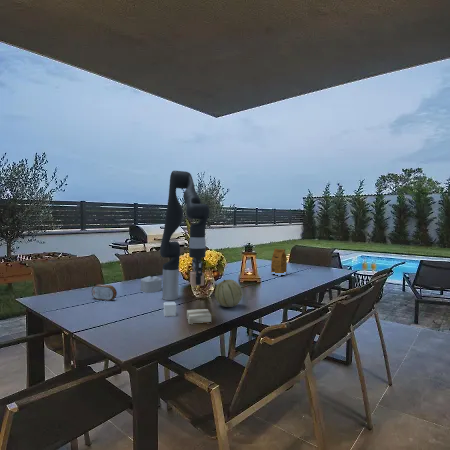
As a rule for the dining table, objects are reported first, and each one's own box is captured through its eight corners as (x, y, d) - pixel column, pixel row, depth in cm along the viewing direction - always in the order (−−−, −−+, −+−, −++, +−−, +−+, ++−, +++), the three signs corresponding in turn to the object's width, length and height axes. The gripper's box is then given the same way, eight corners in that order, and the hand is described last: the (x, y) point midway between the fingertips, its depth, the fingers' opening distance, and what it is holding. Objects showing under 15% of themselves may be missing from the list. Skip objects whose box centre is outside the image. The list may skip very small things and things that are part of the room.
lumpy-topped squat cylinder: (139, 290, 208) (139, 276, 208) (156, 287, 217) (157, 274, 216) (146, 293, 200) (146, 279, 200) (165, 290, 209) (165, 277, 209)
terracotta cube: (190, 283, 152) (190, 271, 152) (201, 282, 154) (201, 271, 153) (192, 285, 147) (192, 273, 147) (203, 285, 148) (204, 273, 148)
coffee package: (277, 273, 276) (277, 247, 275) (288, 275, 266) (288, 249, 265) (268, 274, 270) (269, 248, 269) (279, 277, 260) (280, 249, 259)
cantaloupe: (247, 306, 175) (248, 279, 174) (229, 312, 164) (230, 283, 163) (227, 301, 184) (227, 275, 184) (208, 306, 173) (209, 278, 173)
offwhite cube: (163, 313, 161) (163, 302, 161) (174, 312, 163) (174, 301, 162) (164, 316, 156) (164, 305, 156) (176, 315, 157) (176, 304, 157)
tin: (116, 300, 184) (117, 285, 184) (113, 301, 181) (113, 286, 181) (94, 297, 188) (94, 283, 188) (90, 299, 185) (90, 284, 185)
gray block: (186, 318, 155) (186, 310, 155) (207, 317, 157) (207, 308, 157) (189, 325, 145) (189, 316, 145) (211, 323, 147) (211, 315, 147)
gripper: (208, 248, 144) (208, 286, 144) (202, 245, 158) (201, 279, 158) (192, 248, 142) (191, 287, 142) (186, 245, 155) (186, 280, 156)
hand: (196, 283), depth 150 cm, fingers closed on terracotta cube, 5 cm apart
